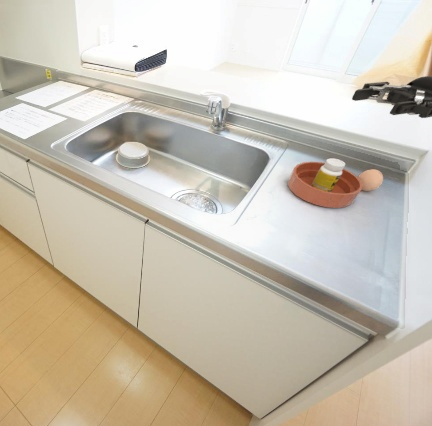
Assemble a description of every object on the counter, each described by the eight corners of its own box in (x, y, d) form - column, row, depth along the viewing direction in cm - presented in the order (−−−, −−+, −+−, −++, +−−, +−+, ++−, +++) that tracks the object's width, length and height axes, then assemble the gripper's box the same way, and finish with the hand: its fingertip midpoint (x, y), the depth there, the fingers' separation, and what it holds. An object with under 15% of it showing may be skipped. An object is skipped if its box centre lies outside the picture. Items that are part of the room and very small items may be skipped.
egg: (373, 186, 76) (387, 168, 72) (376, 196, 72) (390, 177, 69) (351, 181, 78) (363, 163, 74) (352, 191, 74) (365, 172, 70)
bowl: (360, 190, 75) (369, 176, 72) (342, 217, 67) (352, 203, 64) (299, 169, 83) (306, 156, 80) (277, 191, 75) (284, 177, 72)
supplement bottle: (329, 197, 72) (346, 169, 67) (308, 190, 74) (323, 163, 69) (331, 188, 75) (348, 160, 69) (311, 182, 77) (326, 155, 72)
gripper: (412, 66, 63) (352, 73, 60) (491, 85, 52) (423, 93, 50) (391, 100, 68) (335, 108, 65) (459, 123, 57) (396, 133, 54)
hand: (373, 101), depth 57 cm, fingers open, 8 cm apart
